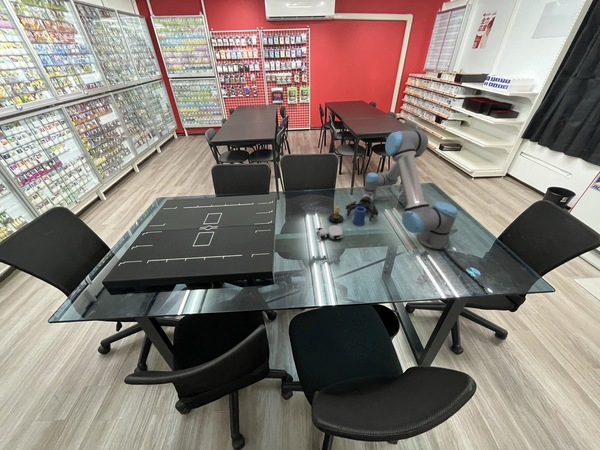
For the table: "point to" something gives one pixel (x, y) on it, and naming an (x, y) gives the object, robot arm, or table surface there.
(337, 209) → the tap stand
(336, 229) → the robot toy
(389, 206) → the table surface
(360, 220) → the blue sleeve
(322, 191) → the table surface
